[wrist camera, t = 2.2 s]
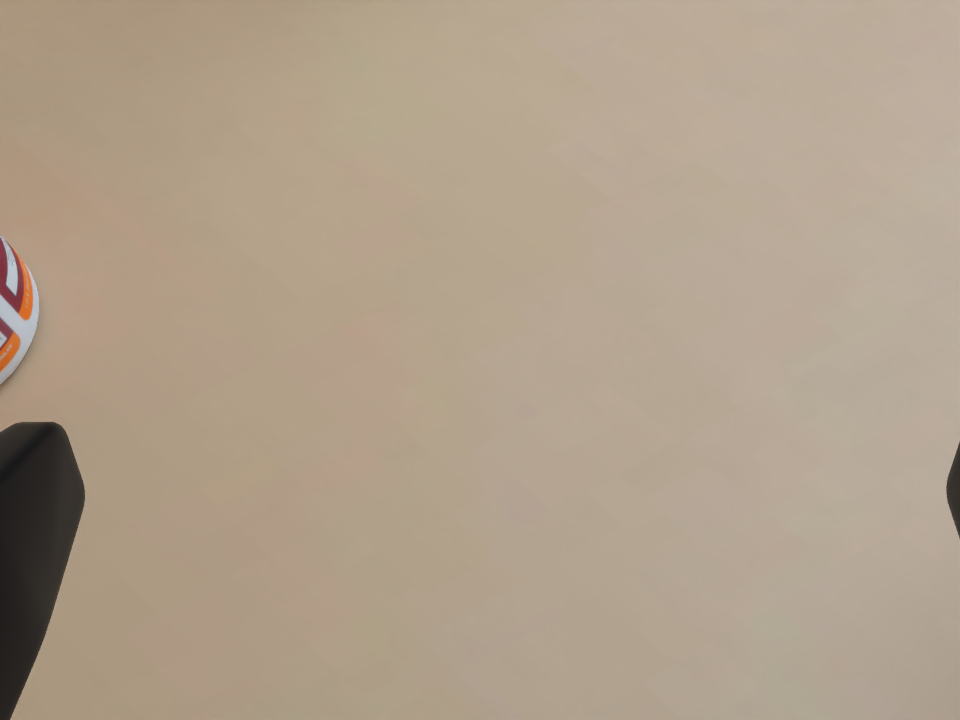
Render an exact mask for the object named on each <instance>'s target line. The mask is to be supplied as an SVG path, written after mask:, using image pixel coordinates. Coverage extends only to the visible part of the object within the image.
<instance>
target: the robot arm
mask: <svg viewBox="0 0 960 720" xmlns="http://www.w3.org/2000/svg"><path fill="white" fill-rule="evenodd" d="M946 488H947V500H948V504H949V507H950V510H951V513H952V517H953V520H954V523H955V526H956V529H957V532H958V535H959V538H960V442H959V445H958V448H957V452H956V455H955V458H954V461H953V464H952V467H951V470H950V473H949V476H948V480H947V487H946ZM84 501H85V490H84V484H83V480H82V477H81V474H80V471H79V468H78V465H77V462H76V459H75V457H74V454H73V451H72V448H71V445H70V442H69V439H68V436H67V434H66V432H65V430H64V429H63V427H62V426H61V425H59V424H57V423H55V422H20V423H16V424H14V425H12V426H10V427H8V428H7V429H5V430H3V431H1V432H0V720H10V718H11V716H12V714H13V711H14V709H15V707H16V704H17V702H18V700H19V697H20V695H21V693H22V690H23V688H24V686H25V683H26V681H27V679H28V676H29V674H30V672H31V669H32V667H33V664H34V662H35V660H36V657H37V655H38V652H39V650H40V647H41V645H42V642H43V640H44V637H45V634H46V631H47V628H48V625H49V622H50V619H51V615H52V612H53V609H54V605H55V602H56V599H57V595H58V592H59V589H60V585H61V582H62V579H63V575H64V572H65V568H66V565H67V562H68V558H69V555H70V552H71V548H72V545H73V542H74V538H75V535H76V532H77V528H78V525H79V521H80V518H81V515H82V511H83V507H84Z"/></svg>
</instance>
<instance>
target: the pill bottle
mask: <svg viewBox="0 0 960 720" xmlns="http://www.w3.org/2000/svg"><path fill="white" fill-rule="evenodd" d="M38 317H39V297H38V292H37V287H36V284H35V281H34V279H33V277H32V275H31V273H30V271H29V269H28V268H27V266H26V265H25V263H24V262H23V261H22V260H21V258H20V257H19V256H18V254H17V253H16V252H15V251H14V249H13V248H12V247H11V246H10V245H9V244H8V243H7V242H6V240H5V239H4V238H3V237H2V236H1V235H0V385H1V384H2V383H3V382H4V381H5V380H6V379H7V378H8V377H9V376H10V375H11V374H12V373H13V371H14V370H15V369H16V367H17V366H18V365H19V363H20V362H21V361H22V359H23V357H24V356H25V354H26V352H27V350H28V348H29V346H30V344H31V342H32V340H33V337H34V334H35V332H36V328H37V324H38Z"/></svg>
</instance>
